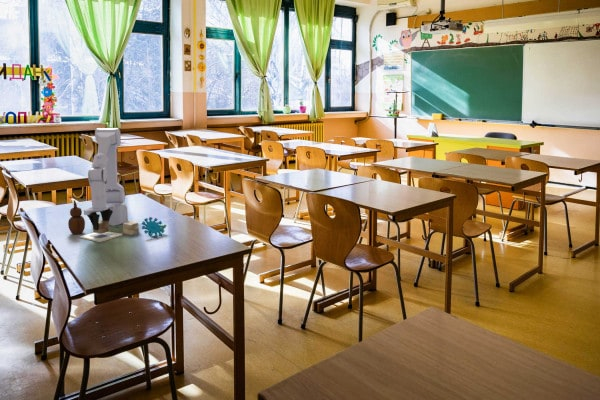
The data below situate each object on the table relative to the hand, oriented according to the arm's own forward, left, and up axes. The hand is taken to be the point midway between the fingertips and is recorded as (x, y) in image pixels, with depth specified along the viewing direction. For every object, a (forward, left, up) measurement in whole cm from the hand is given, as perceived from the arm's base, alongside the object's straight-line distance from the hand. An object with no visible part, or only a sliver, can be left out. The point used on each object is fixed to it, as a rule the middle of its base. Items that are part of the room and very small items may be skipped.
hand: (100, 228), depth 234 cm
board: (0, 0, -4) cm, 4 cm away
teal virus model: (-13, +18, -4) cm, 22 cm away
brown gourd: (+2, -13, -4) cm, 14 cm away
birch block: (-11, +6, -4) cm, 13 cm away
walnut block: (0, 0, -2) cm, 2 cm away
